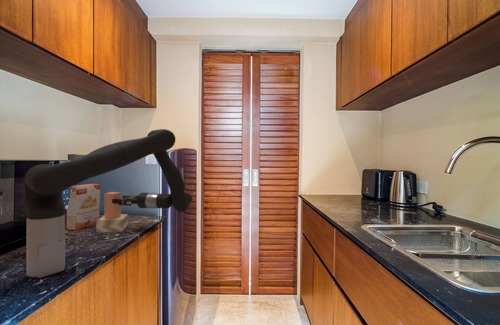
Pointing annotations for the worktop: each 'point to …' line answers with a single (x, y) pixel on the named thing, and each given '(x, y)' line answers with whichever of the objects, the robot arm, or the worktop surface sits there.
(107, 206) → the orange block
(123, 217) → the birch base block
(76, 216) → the cracker box
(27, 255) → the robot arm
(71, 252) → the worktop surface
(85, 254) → the worktop surface
